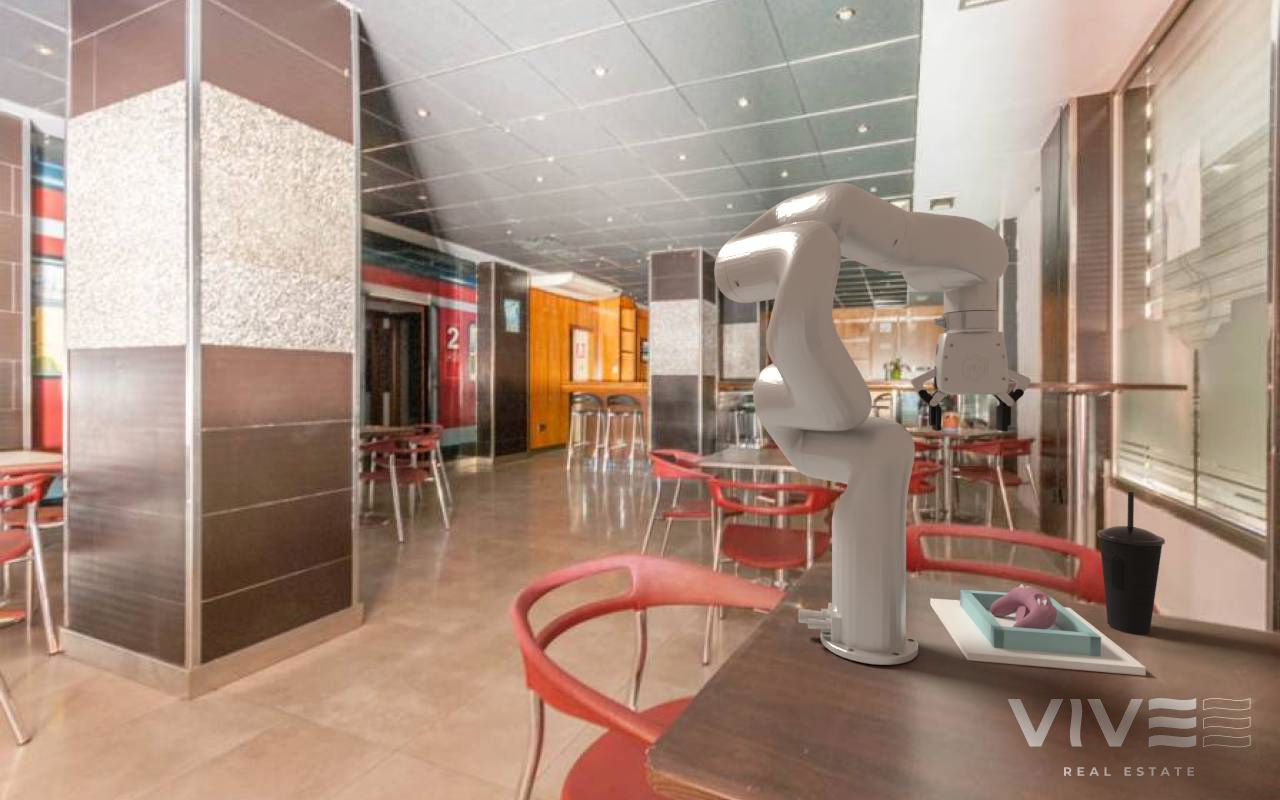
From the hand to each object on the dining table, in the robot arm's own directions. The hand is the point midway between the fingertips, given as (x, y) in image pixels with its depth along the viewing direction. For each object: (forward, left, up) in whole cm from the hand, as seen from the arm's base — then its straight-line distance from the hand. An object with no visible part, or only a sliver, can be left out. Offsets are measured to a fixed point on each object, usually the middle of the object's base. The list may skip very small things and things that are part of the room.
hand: (968, 430), depth 98 cm
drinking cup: (+20, -6, -28) cm, 35 cm away
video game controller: (+4, -12, -28) cm, 30 cm away
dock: (+4, -12, -28) cm, 31 cm away
